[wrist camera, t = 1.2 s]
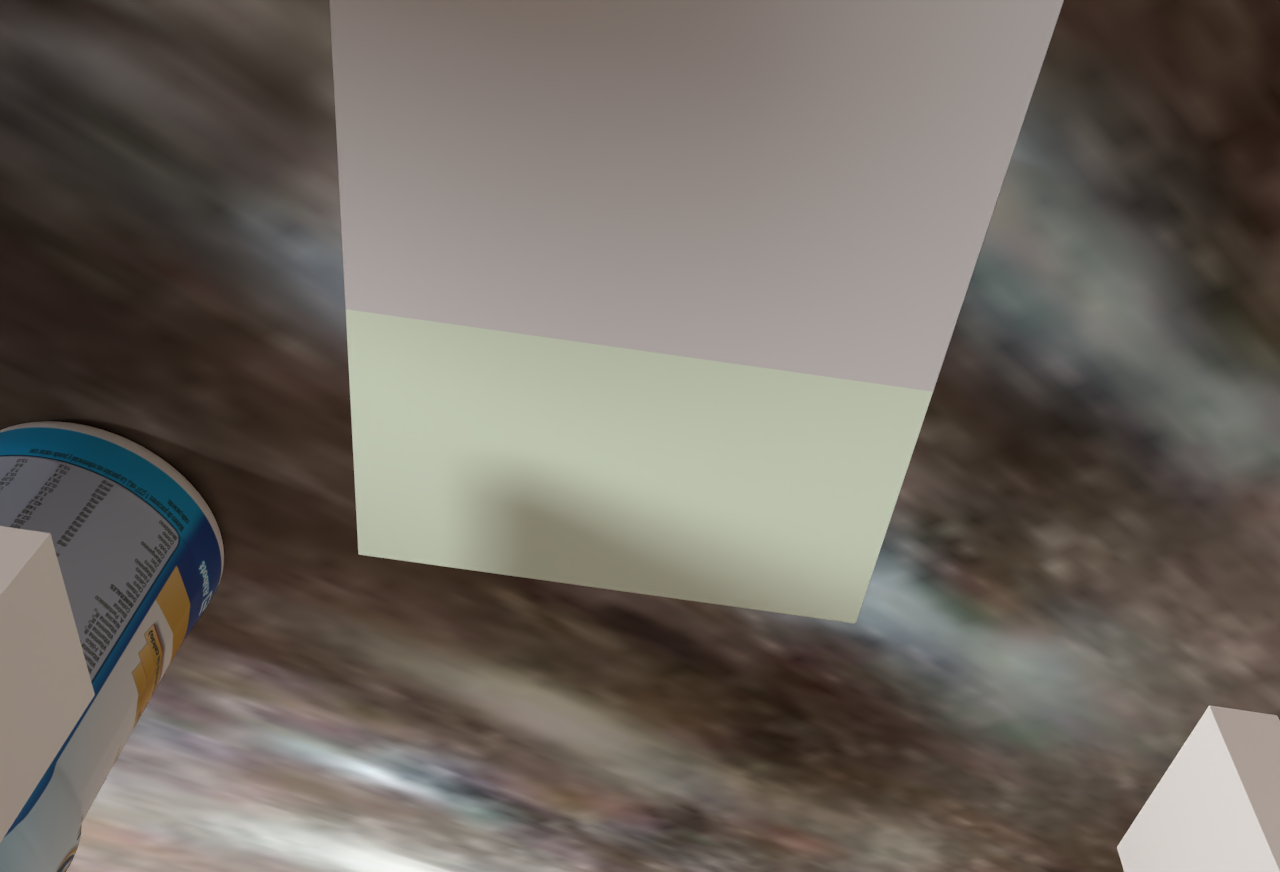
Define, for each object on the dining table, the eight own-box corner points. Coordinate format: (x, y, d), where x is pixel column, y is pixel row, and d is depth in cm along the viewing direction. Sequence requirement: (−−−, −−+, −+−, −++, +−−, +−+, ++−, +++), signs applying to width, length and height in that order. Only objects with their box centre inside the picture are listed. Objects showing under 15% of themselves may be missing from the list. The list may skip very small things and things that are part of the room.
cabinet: (495, 266, 28) (360, 600, 18) (515, -223, 21) (324, -116, 12) (806, 310, 28) (840, 667, 18) (920, -166, 21) (1066, -9, 12)
